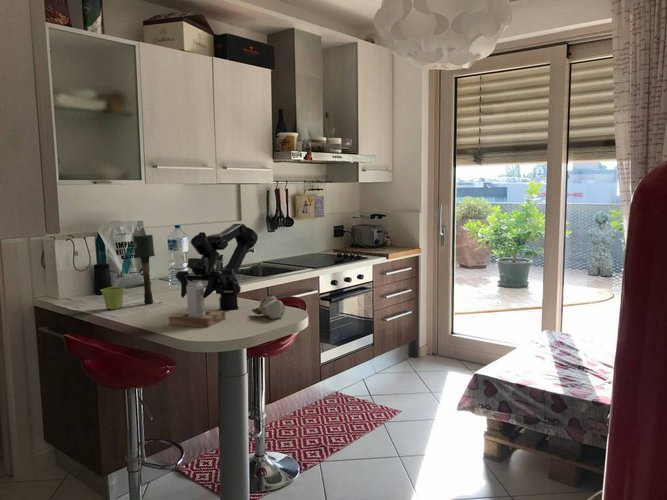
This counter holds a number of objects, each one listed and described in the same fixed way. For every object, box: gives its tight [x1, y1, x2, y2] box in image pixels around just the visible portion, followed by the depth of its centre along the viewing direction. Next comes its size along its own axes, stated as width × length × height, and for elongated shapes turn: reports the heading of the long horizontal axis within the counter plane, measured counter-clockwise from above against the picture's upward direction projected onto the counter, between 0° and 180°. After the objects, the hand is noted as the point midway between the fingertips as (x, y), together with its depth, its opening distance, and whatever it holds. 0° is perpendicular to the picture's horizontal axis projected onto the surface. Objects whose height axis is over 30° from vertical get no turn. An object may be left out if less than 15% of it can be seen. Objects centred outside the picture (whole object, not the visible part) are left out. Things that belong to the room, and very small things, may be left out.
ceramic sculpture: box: [251, 293, 286, 320], centre depth 199 cm, size 11×9×15 cm
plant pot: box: [99, 286, 125, 310], centre depth 227 cm, size 9×9×9 cm
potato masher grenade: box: [133, 234, 156, 305], centre depth 232 cm, size 8×9×30 cm
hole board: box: [168, 309, 226, 328], centre depth 195 cm, size 12×16×3 cm
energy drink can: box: [186, 280, 206, 317], centre depth 194 cm, size 6×6×15 cm
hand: (193, 297), depth 192 cm, fingers open, 9 cm apart
